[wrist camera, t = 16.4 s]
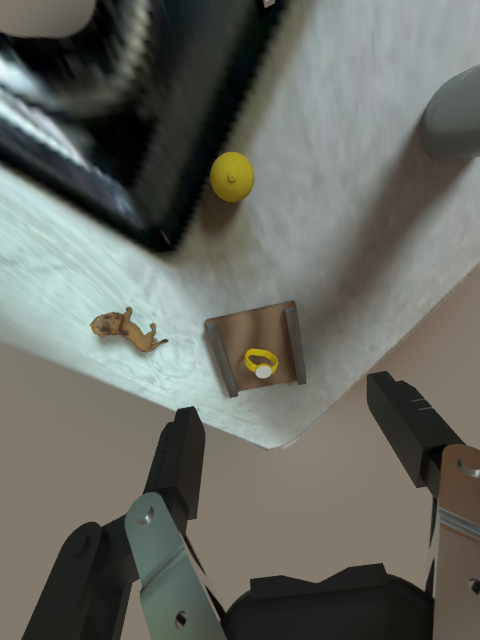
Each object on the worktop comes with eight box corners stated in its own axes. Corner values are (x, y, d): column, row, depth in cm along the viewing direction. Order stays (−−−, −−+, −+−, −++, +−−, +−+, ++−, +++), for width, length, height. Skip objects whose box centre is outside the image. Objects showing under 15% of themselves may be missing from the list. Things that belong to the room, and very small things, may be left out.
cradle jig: (294, 300, 44) (298, 308, 42) (304, 374, 52) (308, 385, 49) (206, 319, 46) (204, 328, 43) (229, 388, 54) (229, 399, 51)
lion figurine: (103, 314, 45) (81, 336, 39) (113, 296, 43) (92, 315, 37) (163, 346, 49) (152, 371, 42) (174, 331, 47) (165, 354, 40)
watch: (242, 355, 48) (243, 376, 43) (245, 343, 47) (246, 363, 42) (272, 360, 49) (277, 381, 44) (276, 348, 48) (282, 368, 42)
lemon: (249, 202, 37) (253, 206, 30) (211, 198, 37) (206, 201, 30) (254, 158, 34) (260, 151, 27) (214, 152, 34) (208, 144, 27)
